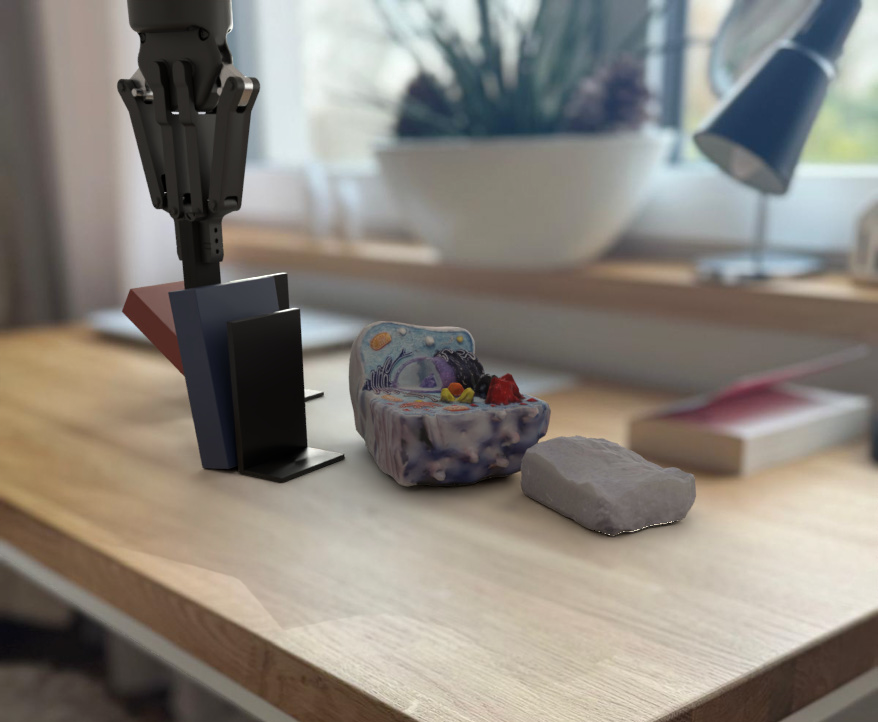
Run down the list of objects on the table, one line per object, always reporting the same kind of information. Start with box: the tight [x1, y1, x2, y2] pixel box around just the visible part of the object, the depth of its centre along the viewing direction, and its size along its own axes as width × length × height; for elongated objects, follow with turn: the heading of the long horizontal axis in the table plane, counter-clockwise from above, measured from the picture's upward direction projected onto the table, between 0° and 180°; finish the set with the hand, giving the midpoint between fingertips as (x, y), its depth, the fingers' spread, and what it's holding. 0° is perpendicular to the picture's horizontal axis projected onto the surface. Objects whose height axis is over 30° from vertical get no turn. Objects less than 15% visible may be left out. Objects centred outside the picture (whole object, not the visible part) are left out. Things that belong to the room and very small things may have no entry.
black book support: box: [227, 307, 346, 484], centre depth 86 cm, size 5×8×12 cm, turn 147°
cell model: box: [348, 320, 552, 488], centre depth 87 cm, size 13×11×20 cm
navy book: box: [168, 276, 279, 470], centre depth 88 cm, size 14×9×3 cm
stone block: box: [520, 435, 697, 536], centre depth 78 cm, size 12×5×10 cm
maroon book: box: [121, 280, 185, 378], centre depth 113 cm, size 14×9×3 cm
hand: (204, 303), depth 88 cm, fingers closed
